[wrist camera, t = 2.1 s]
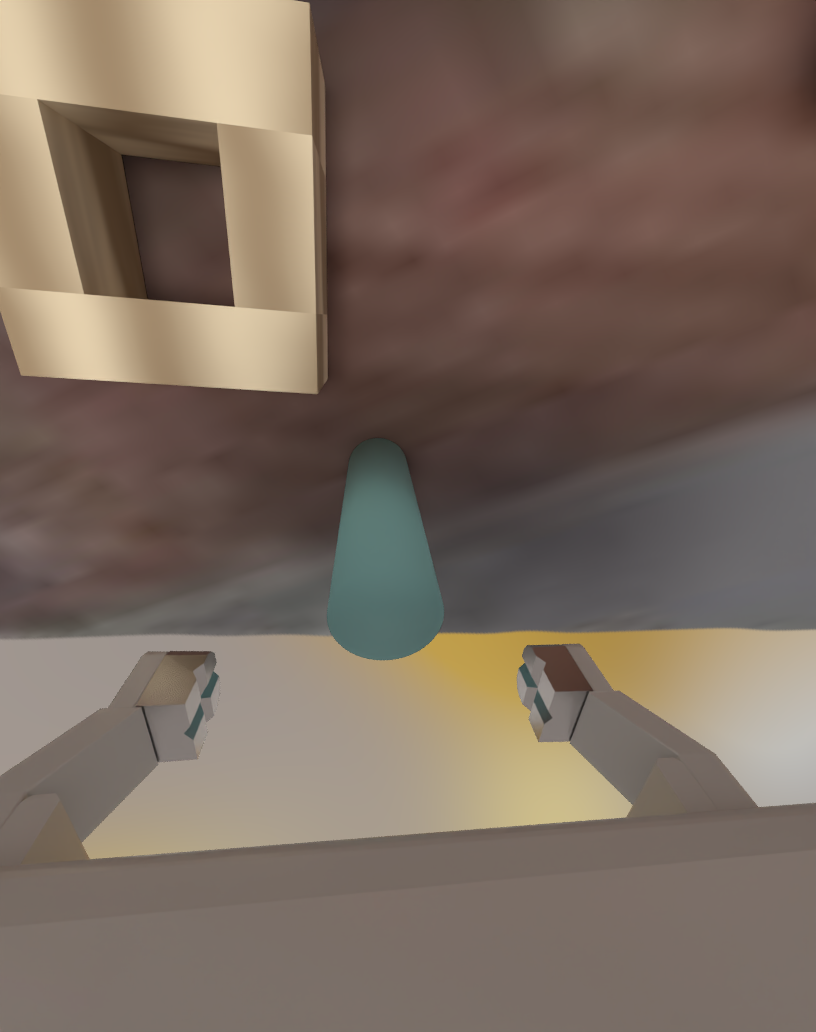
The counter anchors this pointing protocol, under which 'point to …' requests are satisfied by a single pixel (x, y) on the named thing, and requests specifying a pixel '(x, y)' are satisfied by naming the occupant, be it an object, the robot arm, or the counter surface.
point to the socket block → (169, 136)
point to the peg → (382, 561)
